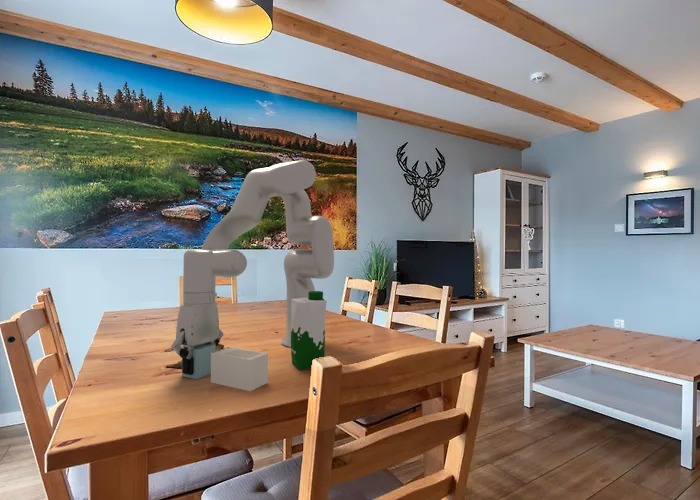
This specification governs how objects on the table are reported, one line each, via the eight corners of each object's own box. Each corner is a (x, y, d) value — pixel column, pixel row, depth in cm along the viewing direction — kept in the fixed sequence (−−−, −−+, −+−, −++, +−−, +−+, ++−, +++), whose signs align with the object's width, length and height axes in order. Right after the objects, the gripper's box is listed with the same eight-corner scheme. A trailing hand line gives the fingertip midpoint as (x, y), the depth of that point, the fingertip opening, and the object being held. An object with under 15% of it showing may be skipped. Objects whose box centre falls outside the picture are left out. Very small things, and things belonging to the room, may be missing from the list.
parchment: (200, 345, 124) (200, 342, 124) (230, 344, 124) (230, 342, 124) (162, 370, 99) (162, 367, 99) (200, 370, 99) (200, 367, 99)
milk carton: (328, 367, 101) (329, 293, 101) (295, 372, 97) (296, 294, 97) (318, 358, 109) (318, 289, 109) (287, 362, 105) (288, 291, 105)
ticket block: (229, 374, 94) (229, 346, 94) (267, 382, 89) (267, 352, 89) (210, 382, 89) (210, 352, 89) (250, 391, 84) (250, 359, 84)
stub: (201, 369, 99) (201, 342, 99) (215, 372, 97) (215, 344, 97) (181, 375, 93) (182, 347, 93) (196, 379, 91) (196, 349, 91)
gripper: (214, 294, 104) (213, 359, 104) (158, 301, 89) (158, 378, 89) (235, 295, 101) (234, 362, 101) (181, 304, 86) (180, 383, 86)
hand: (198, 369), depth 95 cm, fingers closed on stub, 6 cm apart
